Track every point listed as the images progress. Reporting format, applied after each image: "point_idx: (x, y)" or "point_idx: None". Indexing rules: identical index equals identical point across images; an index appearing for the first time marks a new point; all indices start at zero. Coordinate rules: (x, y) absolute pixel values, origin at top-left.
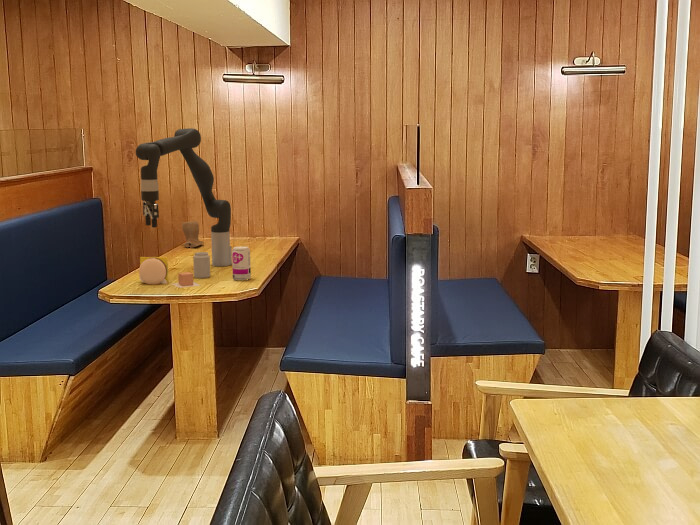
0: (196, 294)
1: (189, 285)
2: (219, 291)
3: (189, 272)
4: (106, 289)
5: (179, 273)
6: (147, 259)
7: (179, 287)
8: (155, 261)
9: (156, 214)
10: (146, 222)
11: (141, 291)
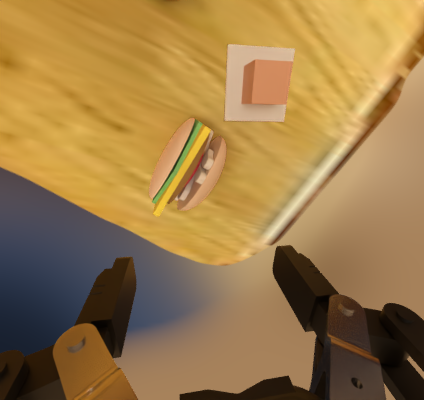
0: (363, 109)
1: None
2: (382, 34)
3: (263, 61)
4: (190, 258)
5: (258, 101)
6: (195, 199)
7: (281, 119)
8: (217, 176)
9: (366, 344)
10: (131, 303)
11: (251, 206)
